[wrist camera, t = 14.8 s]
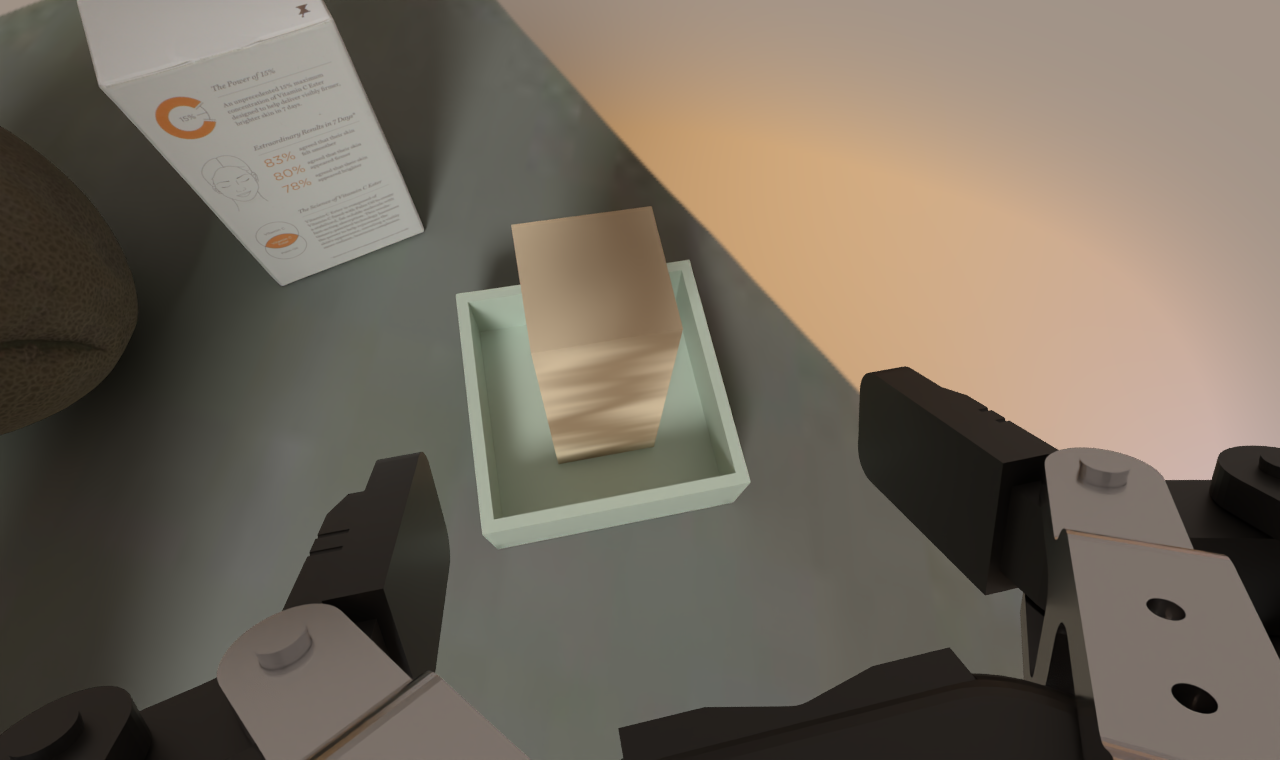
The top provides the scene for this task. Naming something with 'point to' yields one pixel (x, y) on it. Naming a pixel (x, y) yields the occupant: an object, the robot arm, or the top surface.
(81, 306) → the brown leather ball
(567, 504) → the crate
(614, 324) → the birch block
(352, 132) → the small box
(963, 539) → the robot arm
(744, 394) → the top surface
